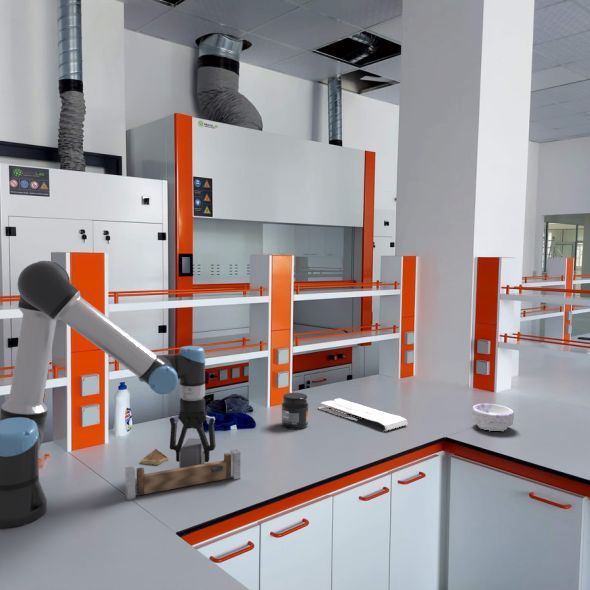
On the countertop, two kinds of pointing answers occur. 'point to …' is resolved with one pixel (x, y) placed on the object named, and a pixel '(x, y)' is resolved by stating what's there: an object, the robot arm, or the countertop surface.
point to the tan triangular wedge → (154, 458)
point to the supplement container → (294, 410)
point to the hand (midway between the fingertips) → (192, 471)
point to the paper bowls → (492, 416)
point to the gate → (183, 476)
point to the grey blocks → (131, 474)
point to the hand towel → (364, 413)
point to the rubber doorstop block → (191, 453)
